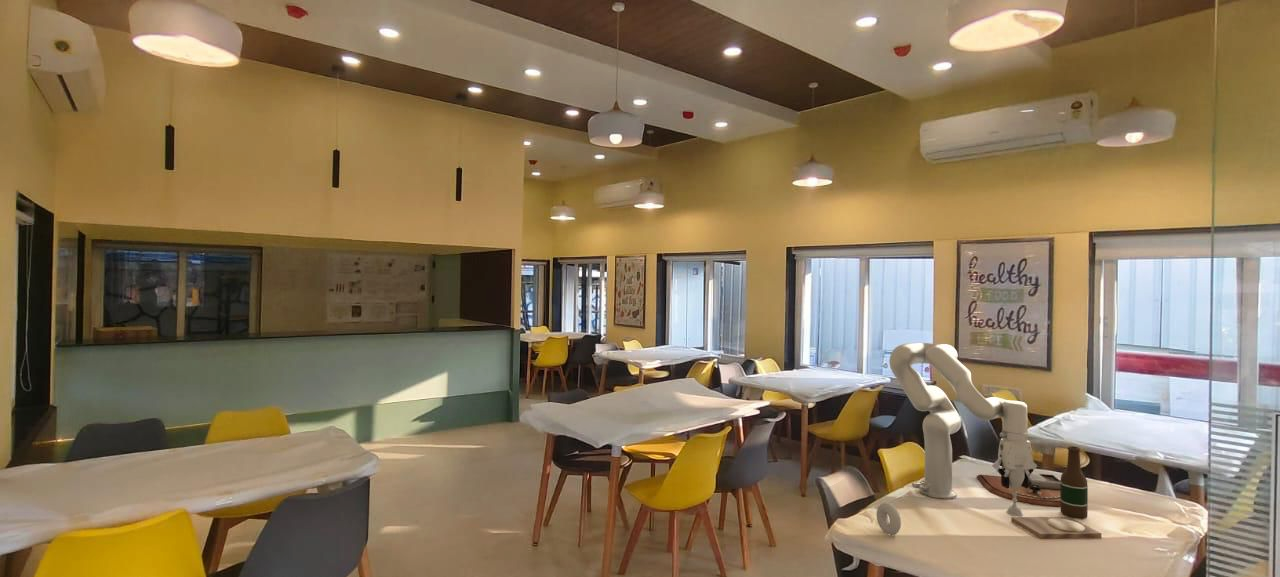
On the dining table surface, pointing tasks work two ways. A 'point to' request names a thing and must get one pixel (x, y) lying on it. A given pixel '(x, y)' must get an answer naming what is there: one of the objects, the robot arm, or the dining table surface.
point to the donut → (893, 515)
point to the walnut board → (1055, 527)
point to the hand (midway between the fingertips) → (1014, 486)
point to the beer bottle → (1073, 487)
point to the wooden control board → (1027, 489)
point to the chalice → (1015, 488)
